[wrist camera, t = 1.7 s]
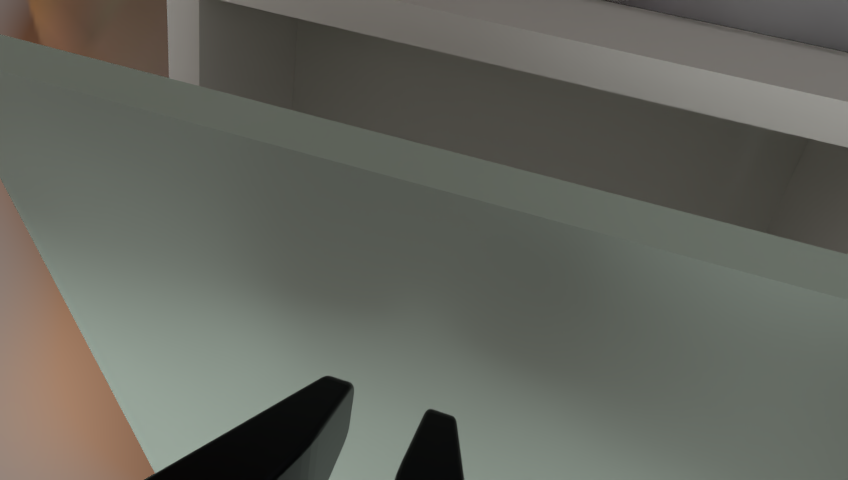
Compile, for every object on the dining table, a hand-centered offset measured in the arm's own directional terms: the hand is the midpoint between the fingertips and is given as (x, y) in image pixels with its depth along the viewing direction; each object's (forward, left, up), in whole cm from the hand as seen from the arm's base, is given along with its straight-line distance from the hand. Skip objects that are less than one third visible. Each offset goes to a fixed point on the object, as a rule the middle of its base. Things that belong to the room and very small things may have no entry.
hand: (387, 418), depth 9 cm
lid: (-4, 0, -4) cm, 6 cm away
